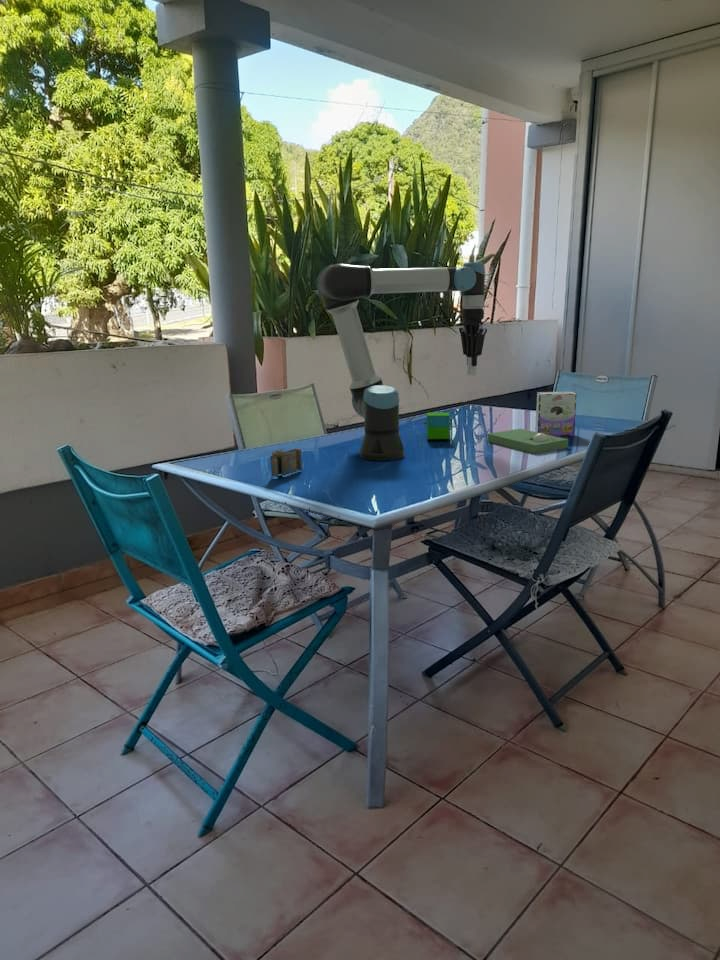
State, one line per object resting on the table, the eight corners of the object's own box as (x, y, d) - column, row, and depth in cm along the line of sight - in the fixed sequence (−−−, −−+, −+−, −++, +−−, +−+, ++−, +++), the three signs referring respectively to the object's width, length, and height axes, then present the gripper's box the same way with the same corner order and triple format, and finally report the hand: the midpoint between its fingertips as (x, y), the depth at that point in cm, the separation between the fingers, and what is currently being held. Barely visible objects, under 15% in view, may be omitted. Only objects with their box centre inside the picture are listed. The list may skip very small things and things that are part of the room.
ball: (542, 443, 230) (535, 431, 232) (534, 450, 234) (528, 438, 236) (553, 441, 232) (546, 429, 234) (545, 448, 236) (539, 437, 238)
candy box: (571, 433, 257) (573, 391, 252) (574, 436, 251) (577, 393, 247) (534, 433, 258) (536, 391, 254) (537, 436, 252) (539, 393, 248)
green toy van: (450, 434, 260) (450, 409, 258) (451, 442, 248) (452, 415, 245) (424, 434, 261) (424, 409, 258) (424, 442, 248) (424, 415, 246)
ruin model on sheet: (279, 481, 201) (277, 450, 199) (271, 480, 203) (269, 449, 200) (303, 473, 210) (301, 443, 208) (295, 472, 212) (294, 442, 209)
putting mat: (534, 453, 226) (534, 445, 225) (487, 441, 246) (487, 433, 245) (567, 447, 234) (568, 439, 233) (519, 436, 254) (520, 428, 253)
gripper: (493, 307, 232) (491, 375, 238) (469, 307, 243) (468, 372, 249) (476, 308, 228) (475, 377, 235) (453, 308, 239) (452, 374, 246)
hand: (471, 375), depth 242 cm, fingers closed
